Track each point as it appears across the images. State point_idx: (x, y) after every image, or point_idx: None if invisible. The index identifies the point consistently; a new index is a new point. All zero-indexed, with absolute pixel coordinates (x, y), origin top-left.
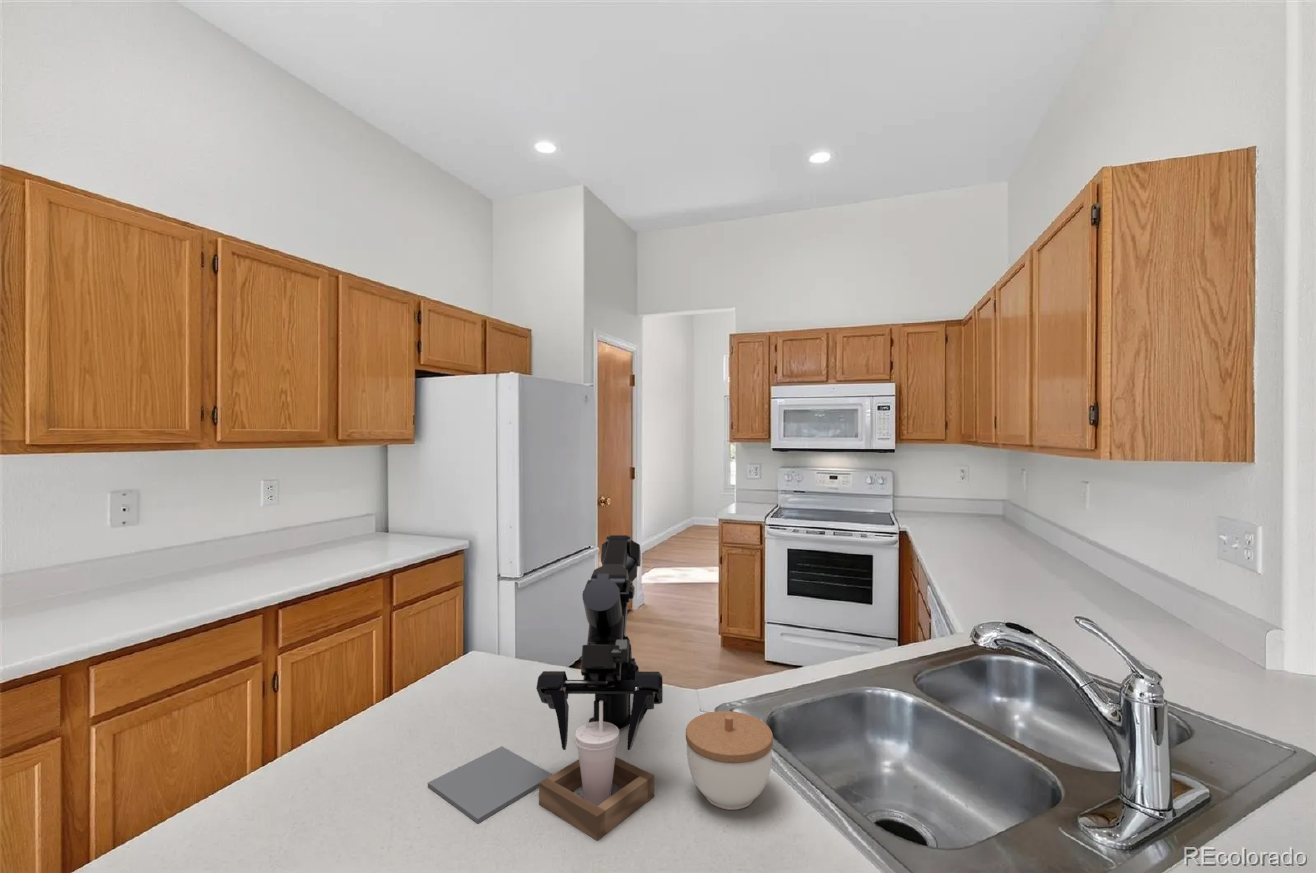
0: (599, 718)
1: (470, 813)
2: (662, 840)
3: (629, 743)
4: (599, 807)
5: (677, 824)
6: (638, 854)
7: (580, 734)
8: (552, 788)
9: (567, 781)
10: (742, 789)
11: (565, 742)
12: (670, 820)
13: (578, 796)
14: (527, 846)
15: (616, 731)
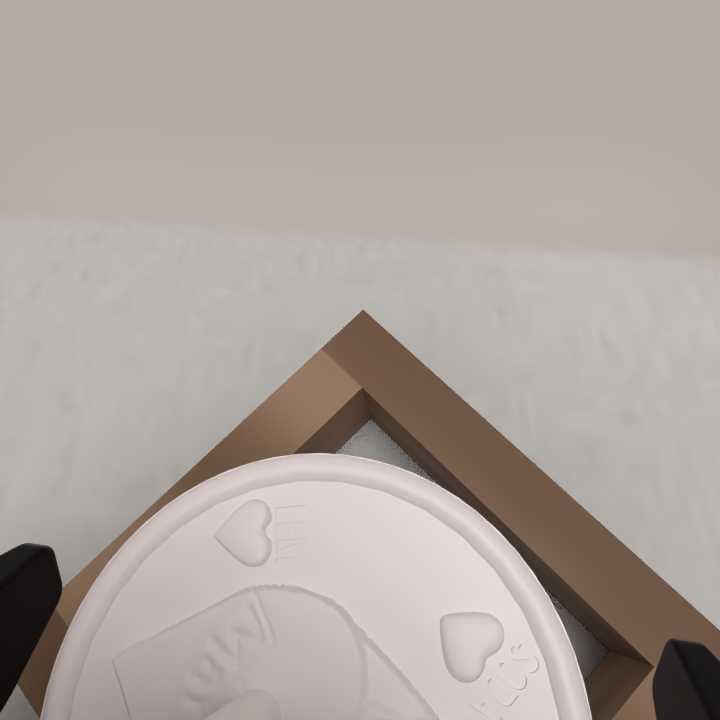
0: None
1: None
2: (115, 330)
3: (10, 561)
4: (350, 376)
5: (29, 413)
6: (218, 269)
7: (521, 702)
8: (647, 586)
9: None
10: None
11: (682, 688)
12: (49, 442)
13: (469, 482)
14: (666, 343)
15: (74, 712)
